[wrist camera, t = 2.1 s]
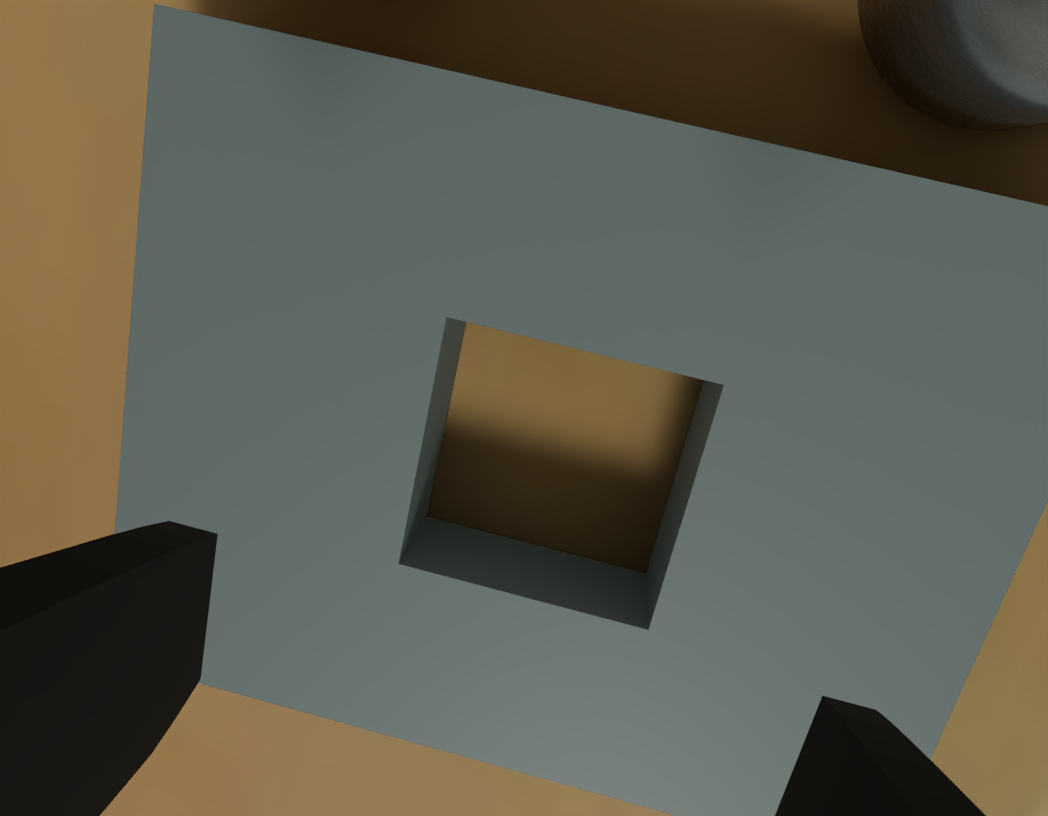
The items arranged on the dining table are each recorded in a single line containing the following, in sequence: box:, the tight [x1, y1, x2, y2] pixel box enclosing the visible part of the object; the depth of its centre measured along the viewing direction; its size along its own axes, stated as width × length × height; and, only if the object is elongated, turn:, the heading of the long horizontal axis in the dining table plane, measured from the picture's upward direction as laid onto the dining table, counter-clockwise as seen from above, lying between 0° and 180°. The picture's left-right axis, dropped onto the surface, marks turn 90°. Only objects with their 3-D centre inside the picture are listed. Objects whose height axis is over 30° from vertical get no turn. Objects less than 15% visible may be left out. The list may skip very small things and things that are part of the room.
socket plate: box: [115, 4, 1048, 816], centre depth 17 cm, size 18×14×2 cm
